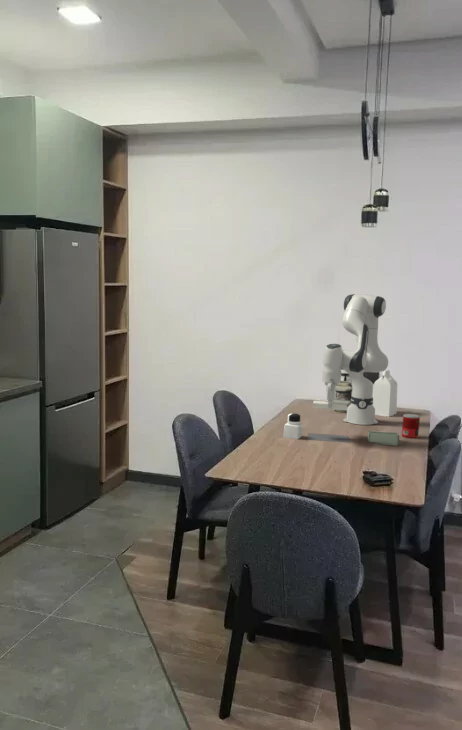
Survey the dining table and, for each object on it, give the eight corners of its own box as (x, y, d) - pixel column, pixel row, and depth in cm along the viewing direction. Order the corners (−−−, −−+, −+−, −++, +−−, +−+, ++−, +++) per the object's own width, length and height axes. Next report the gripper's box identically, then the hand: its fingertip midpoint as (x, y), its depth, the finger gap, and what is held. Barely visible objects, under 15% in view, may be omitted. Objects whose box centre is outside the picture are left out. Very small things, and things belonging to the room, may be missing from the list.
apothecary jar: (332, 408, 386) (333, 379, 384) (352, 410, 384) (354, 380, 382) (332, 412, 374) (334, 382, 372) (353, 414, 373) (355, 383, 370)
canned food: (418, 439, 316) (420, 417, 315) (402, 437, 318) (403, 416, 317) (417, 435, 324) (419, 414, 322) (401, 434, 325) (402, 413, 324)
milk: (378, 411, 385) (381, 368, 382) (396, 413, 379) (399, 370, 375) (370, 413, 376) (373, 370, 372) (388, 416, 369) (391, 372, 366)
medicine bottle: (302, 437, 310) (303, 413, 308) (297, 440, 304) (298, 416, 302) (288, 435, 313) (289, 411, 311) (283, 438, 306) (284, 414, 305)
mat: (307, 434, 317) (307, 433, 317) (348, 437, 314) (348, 435, 314) (307, 441, 303) (307, 439, 303) (349, 444, 301) (349, 442, 300)
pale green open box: (367, 440, 309) (368, 430, 308) (397, 443, 307) (397, 432, 306) (368, 443, 304) (369, 433, 303) (398, 445, 302) (399, 435, 301)
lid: (313, 405, 311) (313, 398, 311) (346, 408, 309) (346, 400, 308) (312, 408, 305) (313, 400, 305) (346, 410, 303) (347, 402, 303)
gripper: (338, 381, 294) (336, 411, 296) (337, 375, 314) (336, 402, 316) (324, 381, 295) (323, 410, 297) (325, 374, 315) (323, 401, 317)
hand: (329, 406), depth 307 cm, fingers closed on lid, 6 cm apart
